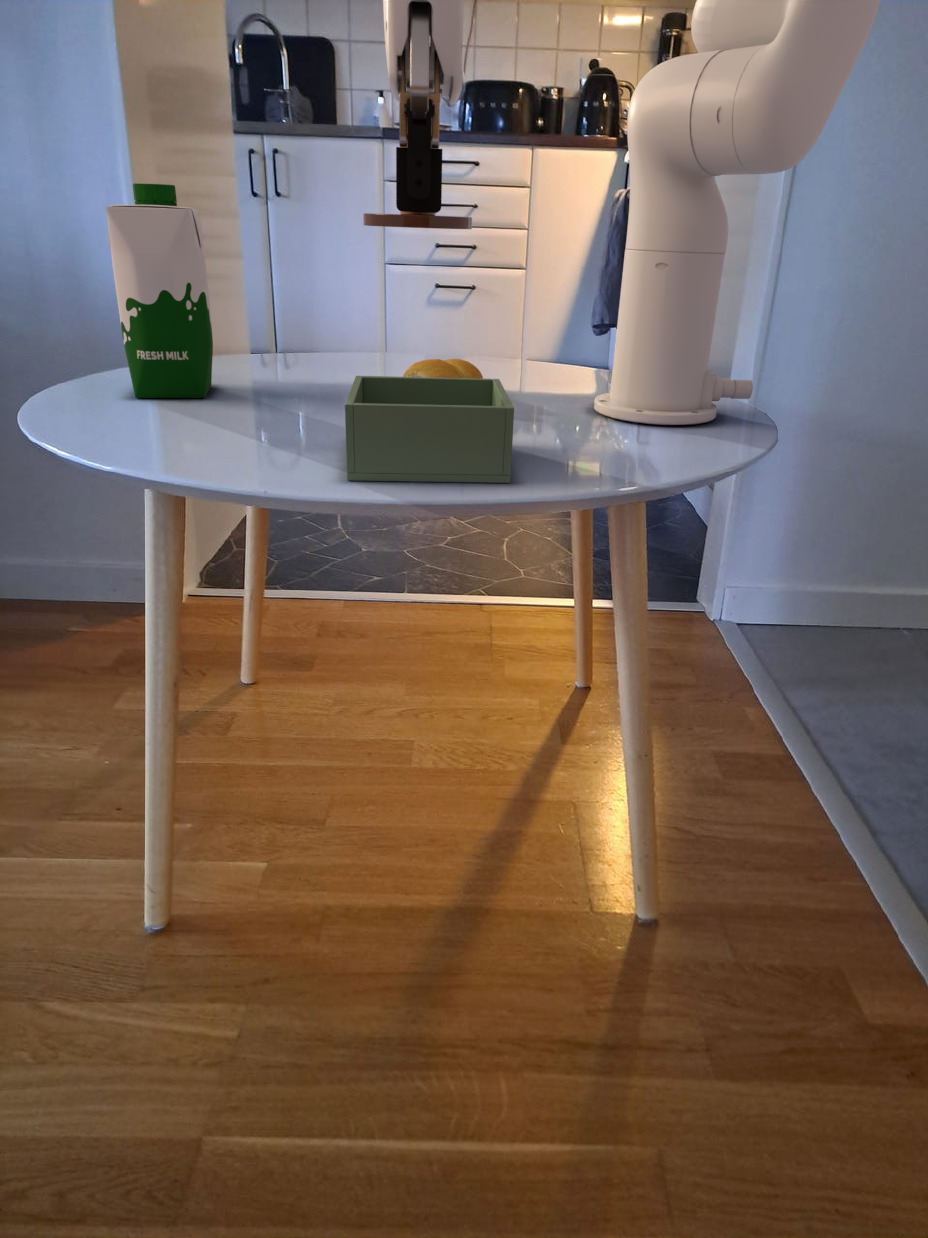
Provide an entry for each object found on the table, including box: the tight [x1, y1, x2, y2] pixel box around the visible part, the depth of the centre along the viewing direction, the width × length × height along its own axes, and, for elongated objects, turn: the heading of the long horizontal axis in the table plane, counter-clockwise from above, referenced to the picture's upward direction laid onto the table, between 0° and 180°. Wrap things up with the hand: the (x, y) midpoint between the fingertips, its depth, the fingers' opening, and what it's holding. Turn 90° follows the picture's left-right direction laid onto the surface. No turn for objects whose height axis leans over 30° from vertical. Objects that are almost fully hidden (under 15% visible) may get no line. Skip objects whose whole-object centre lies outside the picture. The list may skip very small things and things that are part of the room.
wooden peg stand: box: [362, 125, 473, 230], centre depth 60 cm, size 8×8×6 cm
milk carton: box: [105, 182, 214, 399], centre depth 86 cm, size 9×9×20 cm
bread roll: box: [402, 358, 484, 379], centre depth 93 cm, size 8×9×4 cm
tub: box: [344, 375, 515, 484], centre depth 67 cm, size 12×12×6 cm
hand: (418, 209), depth 61 cm, fingers closed on wooden peg stand, 2 cm apart
